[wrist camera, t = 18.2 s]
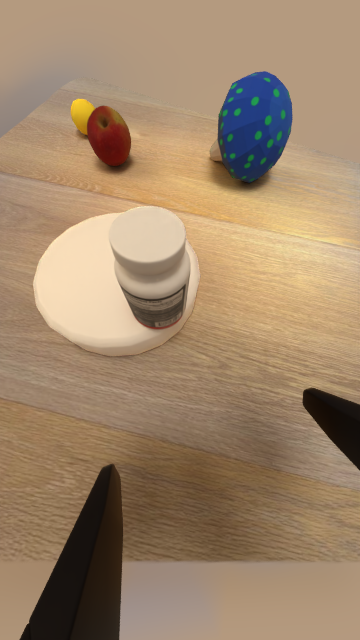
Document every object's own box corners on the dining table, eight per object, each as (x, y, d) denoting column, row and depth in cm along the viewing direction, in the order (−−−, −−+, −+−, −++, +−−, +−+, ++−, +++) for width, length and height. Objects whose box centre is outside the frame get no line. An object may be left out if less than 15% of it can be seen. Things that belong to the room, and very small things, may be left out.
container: (162, 383, 22) (159, 378, 17) (19, 321, 24) (-14, 304, 20) (214, 258, 29) (221, 234, 25) (102, 221, 32) (91, 193, 28)
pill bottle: (145, 278, 22) (125, 190, 13) (191, 293, 21) (206, 211, 12) (123, 321, 20) (80, 251, 10) (175, 339, 19) (177, 281, 10)
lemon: (110, 134, 43) (102, 100, 38) (92, 144, 41) (81, 109, 36) (88, 124, 44) (77, 90, 39) (70, 133, 43) (57, 98, 38)
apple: (88, 166, 38) (67, 110, 30) (113, 148, 41) (100, 93, 33) (118, 179, 36) (104, 123, 29) (142, 160, 39) (135, 104, 32)
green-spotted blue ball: (216, 88, 36) (301, 15, 25) (242, 165, 45) (313, 136, 34) (175, 138, 34) (249, 82, 23) (211, 207, 43) (276, 192, 32)
